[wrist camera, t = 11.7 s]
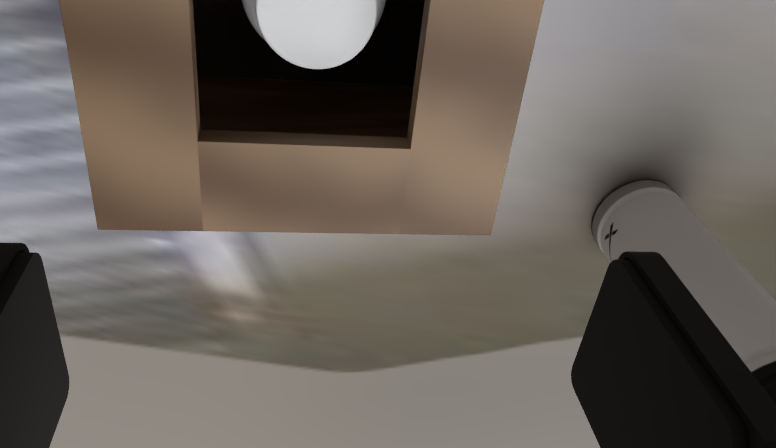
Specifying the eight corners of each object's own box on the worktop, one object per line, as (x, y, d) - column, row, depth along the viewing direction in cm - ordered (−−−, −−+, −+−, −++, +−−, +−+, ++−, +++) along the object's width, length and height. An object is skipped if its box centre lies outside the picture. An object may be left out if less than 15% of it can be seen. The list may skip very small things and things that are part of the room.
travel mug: (569, 222, 46) (723, 468, 30) (649, 161, 44) (861, 389, 28) (615, 269, 49) (778, 516, 33) (692, 214, 47) (906, 448, 31)
